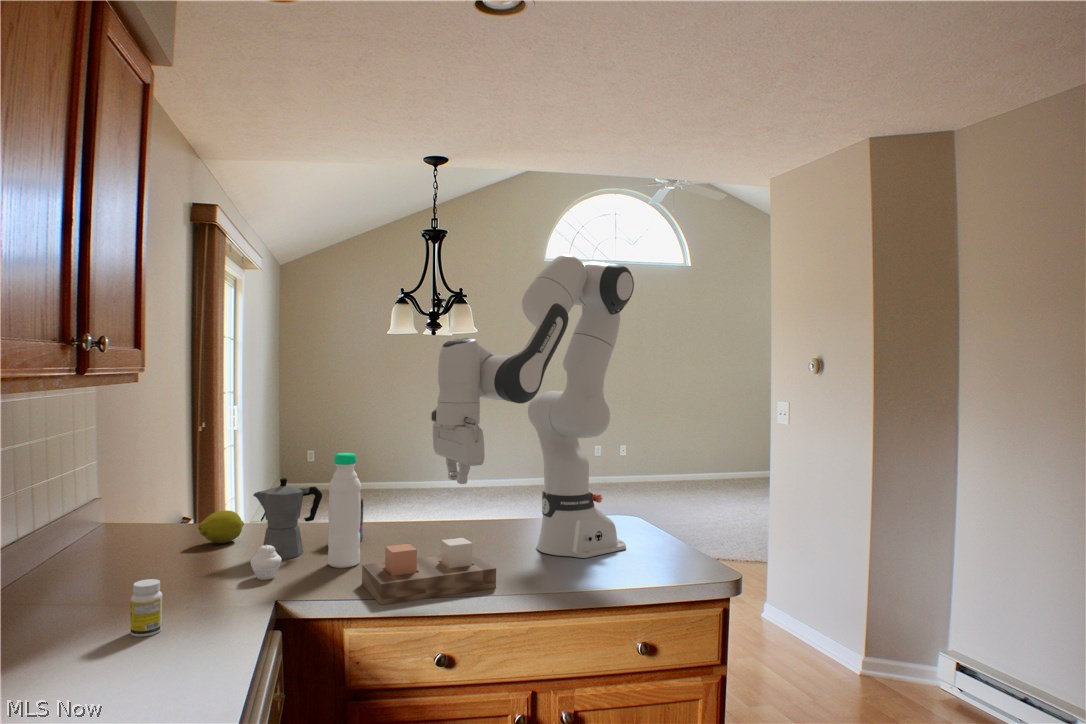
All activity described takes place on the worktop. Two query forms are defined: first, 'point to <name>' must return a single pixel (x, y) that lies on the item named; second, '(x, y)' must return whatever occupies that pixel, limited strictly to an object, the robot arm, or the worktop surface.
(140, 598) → the supplement bottle
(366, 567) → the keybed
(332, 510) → the water bottle
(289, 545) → the coffeepot
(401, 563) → the terracotta key
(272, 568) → the muffin
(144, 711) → the worktop surface
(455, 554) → the cream key
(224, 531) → the lemon
